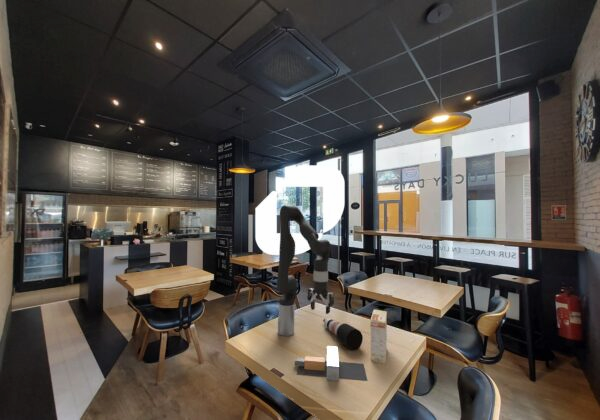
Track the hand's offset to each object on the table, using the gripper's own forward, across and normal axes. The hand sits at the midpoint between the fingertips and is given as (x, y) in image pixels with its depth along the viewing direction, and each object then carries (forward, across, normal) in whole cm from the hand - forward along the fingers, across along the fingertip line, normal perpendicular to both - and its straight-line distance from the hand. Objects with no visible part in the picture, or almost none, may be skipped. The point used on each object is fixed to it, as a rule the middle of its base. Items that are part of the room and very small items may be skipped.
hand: (320, 311), depth 124 cm
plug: (+20, +3, -13) cm, 24 cm away
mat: (+21, +11, -8) cm, 25 cm away
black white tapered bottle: (+21, -1, +22) cm, 30 cm away
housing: (+20, +12, -8) cm, 25 cm away
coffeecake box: (+21, +24, +17) cm, 37 cm away
